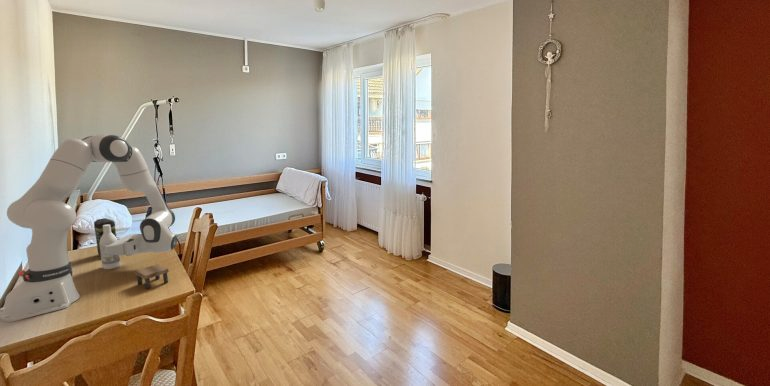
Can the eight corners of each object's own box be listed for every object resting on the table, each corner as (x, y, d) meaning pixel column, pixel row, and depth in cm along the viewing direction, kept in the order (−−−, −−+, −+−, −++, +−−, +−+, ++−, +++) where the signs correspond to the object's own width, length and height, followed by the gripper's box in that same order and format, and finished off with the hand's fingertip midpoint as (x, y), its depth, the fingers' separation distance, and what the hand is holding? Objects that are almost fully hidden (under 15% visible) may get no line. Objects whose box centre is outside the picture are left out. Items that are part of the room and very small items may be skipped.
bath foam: (121, 267, 177) (116, 225, 174) (103, 270, 173) (97, 228, 170) (120, 263, 183) (115, 222, 179) (102, 266, 178) (96, 224, 175)
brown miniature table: (146, 289, 154) (145, 275, 153) (136, 284, 159) (134, 270, 158) (169, 282, 161) (168, 268, 160) (159, 277, 166) (157, 264, 165)
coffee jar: (95, 254, 194) (91, 219, 190) (114, 250, 200) (109, 216, 197) (102, 259, 188) (97, 222, 185) (121, 254, 194) (116, 219, 191)
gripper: (149, 230, 187) (119, 231, 185) (125, 243, 167) (91, 244, 165) (150, 243, 188) (120, 243, 187) (127, 257, 168) (93, 258, 167)
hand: (106, 244), depth 176 cm, fingers closed on bath foam, 7 cm apart
